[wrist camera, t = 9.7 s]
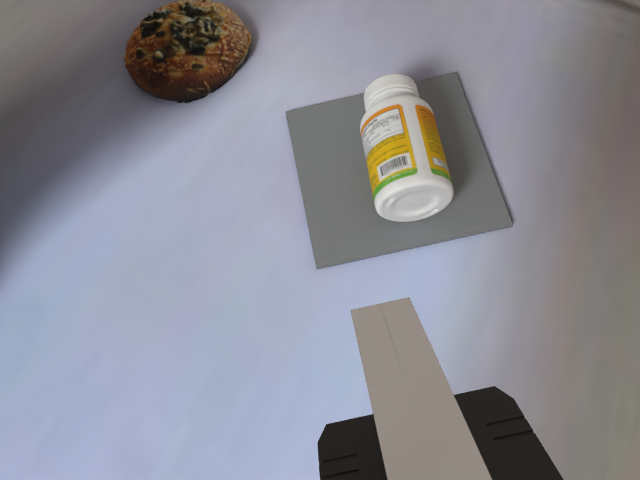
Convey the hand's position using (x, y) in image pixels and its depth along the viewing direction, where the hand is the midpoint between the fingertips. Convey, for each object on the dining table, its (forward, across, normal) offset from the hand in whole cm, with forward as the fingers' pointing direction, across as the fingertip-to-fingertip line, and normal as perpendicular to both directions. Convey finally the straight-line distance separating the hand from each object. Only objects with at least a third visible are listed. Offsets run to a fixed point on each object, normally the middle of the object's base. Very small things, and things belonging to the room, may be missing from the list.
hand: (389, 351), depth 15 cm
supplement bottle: (+25, +5, -4) cm, 26 cm away
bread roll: (+43, -10, +8) cm, 45 cm away
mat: (+31, +4, -3) cm, 31 cm away
